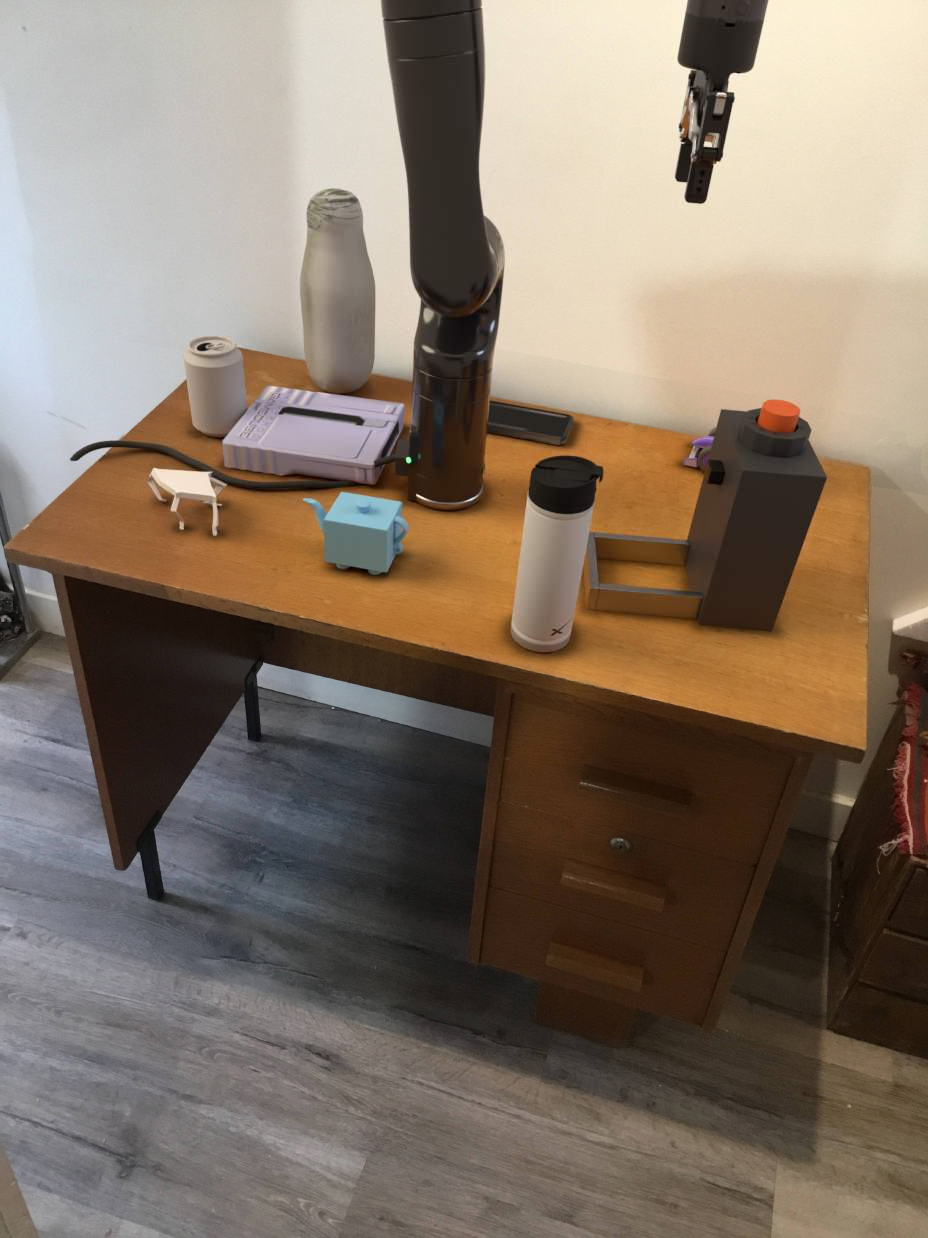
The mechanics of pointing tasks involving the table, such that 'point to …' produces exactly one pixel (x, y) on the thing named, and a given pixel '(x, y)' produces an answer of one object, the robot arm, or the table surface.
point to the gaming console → (314, 435)
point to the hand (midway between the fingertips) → (689, 191)
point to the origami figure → (188, 489)
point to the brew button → (779, 416)
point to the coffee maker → (752, 521)
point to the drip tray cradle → (642, 551)
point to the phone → (529, 423)
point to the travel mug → (553, 551)
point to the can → (215, 384)
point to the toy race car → (704, 454)
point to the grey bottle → (337, 294)
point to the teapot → (361, 531)
